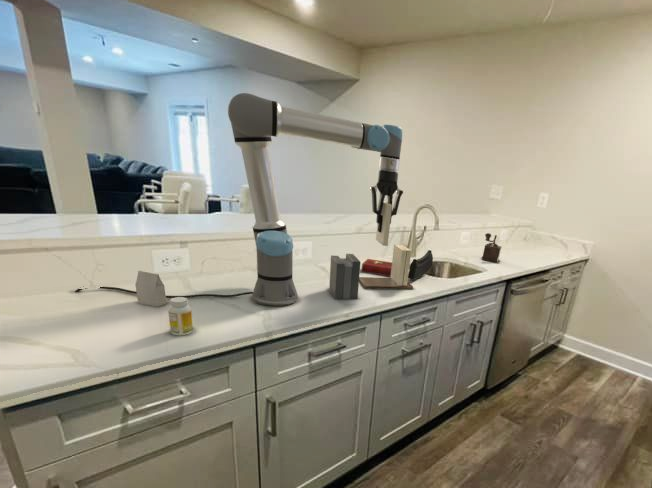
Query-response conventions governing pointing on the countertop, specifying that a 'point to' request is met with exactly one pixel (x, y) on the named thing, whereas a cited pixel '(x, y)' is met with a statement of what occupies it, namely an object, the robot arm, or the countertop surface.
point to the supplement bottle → (180, 316)
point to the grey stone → (150, 289)
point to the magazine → (420, 266)
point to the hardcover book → (377, 267)
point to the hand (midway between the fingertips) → (382, 231)
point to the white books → (400, 265)
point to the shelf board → (381, 283)
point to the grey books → (344, 277)
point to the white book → (384, 224)
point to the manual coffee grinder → (491, 250)
